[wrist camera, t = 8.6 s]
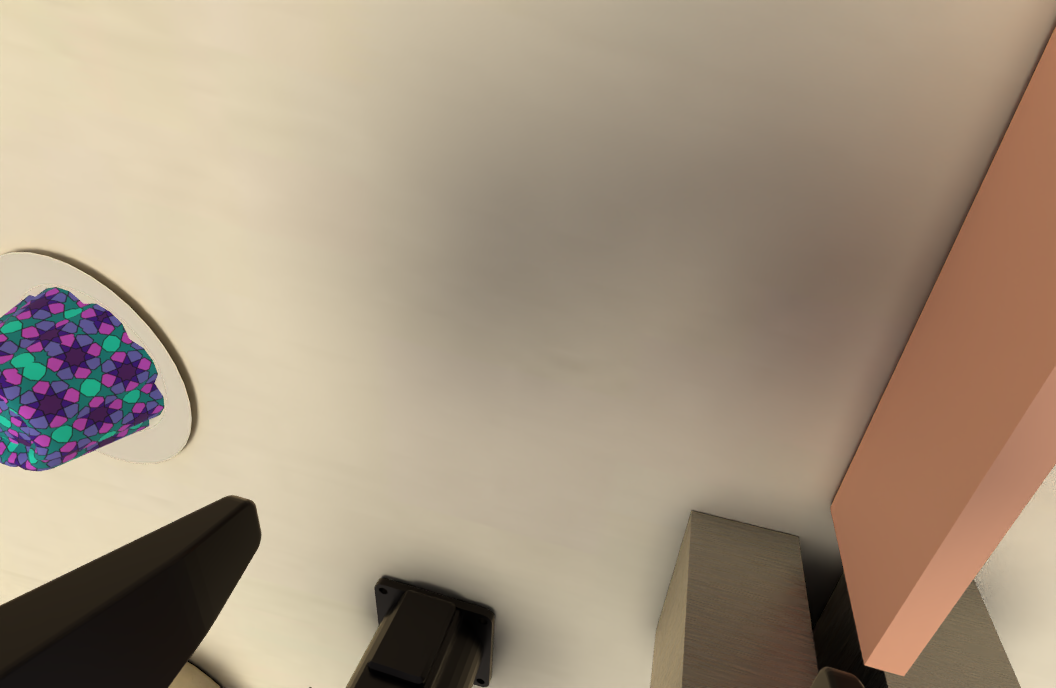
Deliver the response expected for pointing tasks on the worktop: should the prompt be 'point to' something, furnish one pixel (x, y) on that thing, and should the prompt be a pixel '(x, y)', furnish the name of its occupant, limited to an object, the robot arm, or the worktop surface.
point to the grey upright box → (793, 622)
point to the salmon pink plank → (961, 405)
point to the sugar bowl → (192, 678)
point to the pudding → (80, 373)
